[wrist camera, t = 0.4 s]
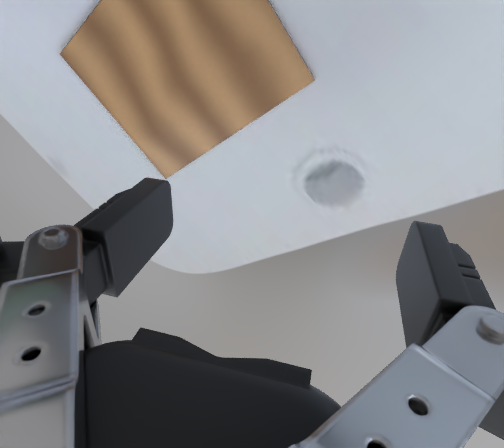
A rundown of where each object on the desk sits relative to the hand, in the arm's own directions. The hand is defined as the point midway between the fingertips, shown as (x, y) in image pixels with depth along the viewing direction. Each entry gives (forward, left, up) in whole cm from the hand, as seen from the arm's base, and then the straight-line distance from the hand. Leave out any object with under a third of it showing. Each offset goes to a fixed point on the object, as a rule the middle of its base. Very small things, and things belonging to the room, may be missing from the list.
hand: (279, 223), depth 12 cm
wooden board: (+9, -12, -23) cm, 27 cm away
